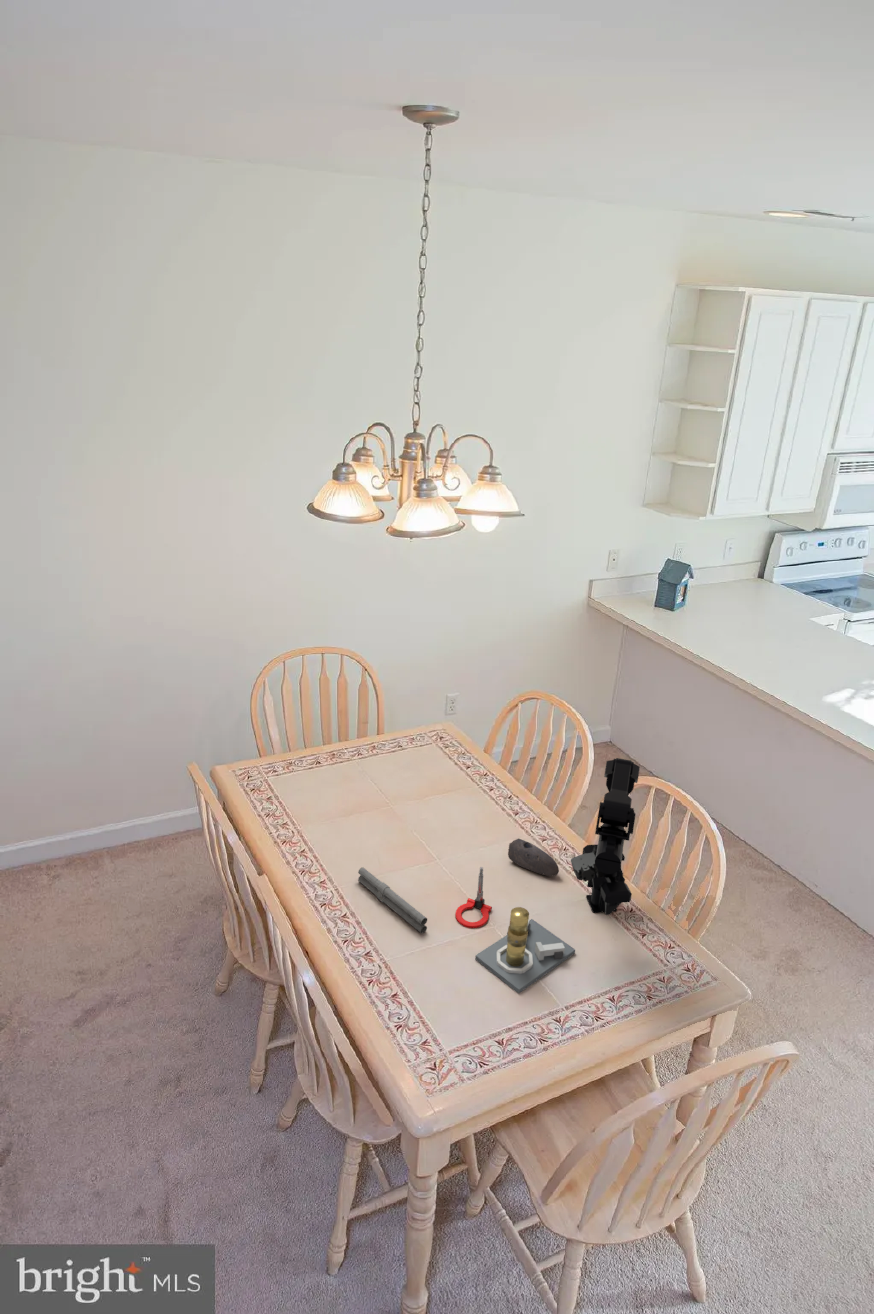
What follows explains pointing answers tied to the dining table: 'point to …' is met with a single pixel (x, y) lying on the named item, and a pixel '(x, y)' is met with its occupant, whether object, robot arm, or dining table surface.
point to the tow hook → (477, 903)
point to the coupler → (517, 936)
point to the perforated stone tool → (532, 858)
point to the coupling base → (526, 957)
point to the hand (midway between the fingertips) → (601, 901)
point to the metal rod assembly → (393, 900)
